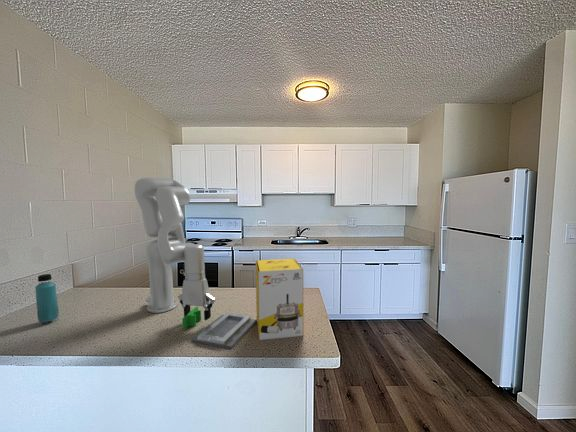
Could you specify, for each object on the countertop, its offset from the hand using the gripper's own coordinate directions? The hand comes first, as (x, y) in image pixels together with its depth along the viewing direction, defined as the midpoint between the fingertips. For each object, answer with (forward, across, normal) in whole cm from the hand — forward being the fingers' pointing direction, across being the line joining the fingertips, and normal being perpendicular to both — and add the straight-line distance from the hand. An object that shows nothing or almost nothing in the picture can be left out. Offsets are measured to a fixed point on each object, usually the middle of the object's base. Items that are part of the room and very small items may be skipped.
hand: (197, 317), depth 107 cm
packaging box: (+4, +32, +7) cm, 33 cm away
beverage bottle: (+1, -60, -18) cm, 62 cm away
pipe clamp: (+3, -2, 0) cm, 3 cm away
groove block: (+3, +14, -2) cm, 15 cm away
